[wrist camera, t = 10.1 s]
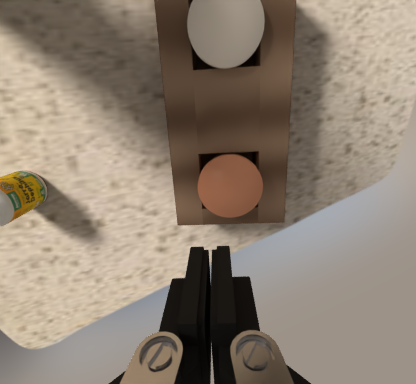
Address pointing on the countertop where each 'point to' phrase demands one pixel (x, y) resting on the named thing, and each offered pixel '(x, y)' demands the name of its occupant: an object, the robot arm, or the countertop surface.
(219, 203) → the orange-brown round piece
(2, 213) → the supplement bottle
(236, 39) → the cream button
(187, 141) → the wooden shaker caddy
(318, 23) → the countertop surface
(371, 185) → the countertop surface
